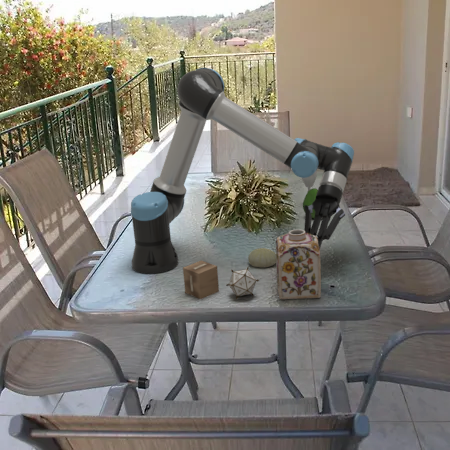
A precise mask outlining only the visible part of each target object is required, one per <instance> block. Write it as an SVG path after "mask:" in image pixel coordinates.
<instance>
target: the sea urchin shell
mask: <svg viewBox="0 0 450 450" xmlns="http://www.w3.org/2000/svg"><path fill="white" fill-rule="evenodd" d="M247 258H248V263H249V264H250V266H252V267H254V268H263V269H264V268H270V267H272V266H274V265H276V251H274V250H272V249H269V248H265V247H262V248H261V247H260V248H259V247H257V248H256V249H253V250H251V251H250V252H249V254H248V257H247Z"/></svg>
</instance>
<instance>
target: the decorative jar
mask: <svg viewBox="0 0 450 450" xmlns="http://www.w3.org/2000/svg"><path fill="white" fill-rule="evenodd" d="M318 245H319V244H318V238H317V235H316V236H314V235H311V234H309V233H305V231H304V229H292V230H289V231H288V233H285V234H282V235H279V236H278V237H277V238H276V240H275V253H276V263H275V265H276V267H275V268H276V283H277V284H276V285H277V293H278V297H279V300H296V299H297V300H302V299H319V298H321V296H322V277H321V276H322V275H321V273H322V272H321V271H322V268H321V267H322V266H321V262H322V261H321V247H319V246H318Z"/></svg>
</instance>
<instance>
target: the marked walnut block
mask: <svg viewBox="0 0 450 450" xmlns="http://www.w3.org/2000/svg"><path fill="white" fill-rule="evenodd" d="M218 273H219V272H218V265H215V264H213V263H210V262H207V261H203V260H199V261H196V262H194V263H191V264H189V265H187V266H183V267H182V274H183V283H184V292H185V294H187V295H189V296H192V297H194V298H196V299H199V300H203V299H205V298H207V297H209V296H212V295H214V294H216V293H218V292H220V290H219V289H220V288H219V286H220V285H219V274H218Z"/></svg>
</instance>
